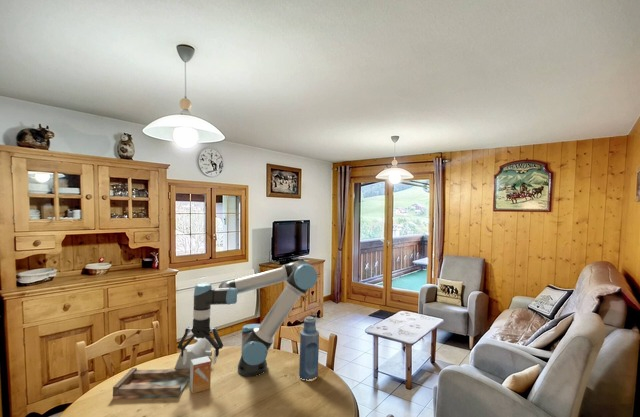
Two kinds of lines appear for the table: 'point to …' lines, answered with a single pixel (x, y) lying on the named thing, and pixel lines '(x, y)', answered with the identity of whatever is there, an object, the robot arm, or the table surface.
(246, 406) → the table surface
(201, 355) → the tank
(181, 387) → the board
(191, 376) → the small box
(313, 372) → the bottle
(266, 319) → the robot arm
